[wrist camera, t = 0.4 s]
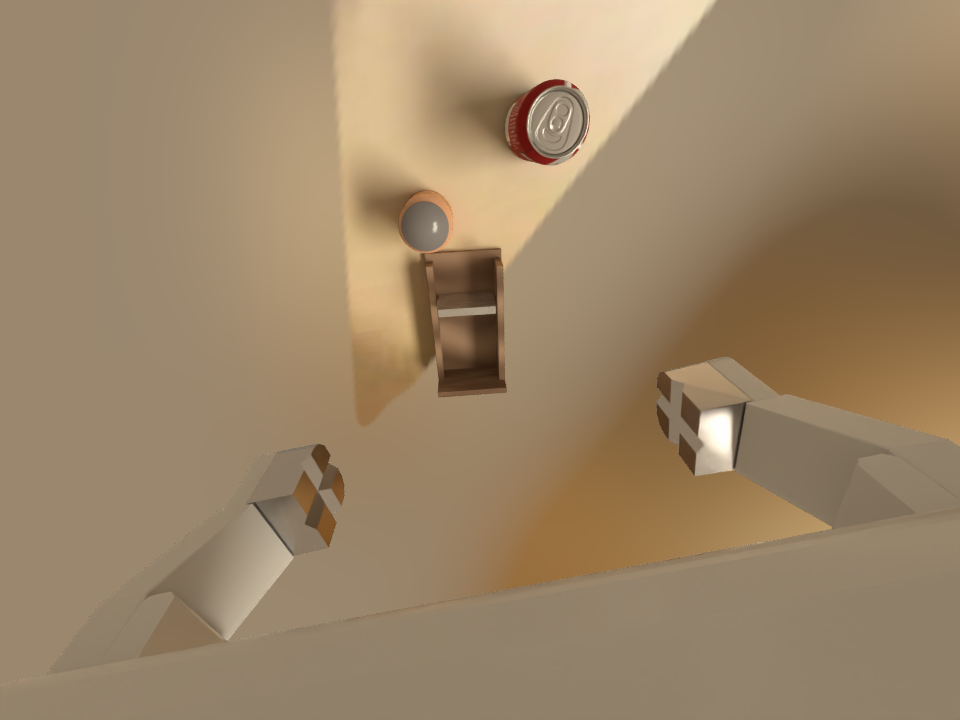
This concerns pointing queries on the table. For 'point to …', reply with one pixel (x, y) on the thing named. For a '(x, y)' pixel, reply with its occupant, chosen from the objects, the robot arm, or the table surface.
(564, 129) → the soda can
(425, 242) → the jar
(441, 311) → the block
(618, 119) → the table surface
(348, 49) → the table surface
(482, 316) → the tray
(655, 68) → the table surface
